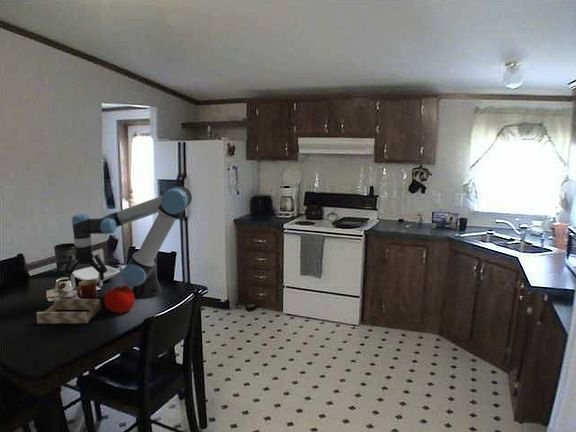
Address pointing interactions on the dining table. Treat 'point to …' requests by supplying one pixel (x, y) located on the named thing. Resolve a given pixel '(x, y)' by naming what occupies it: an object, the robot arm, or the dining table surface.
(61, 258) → the planter
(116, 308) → the tomato
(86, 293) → the mug
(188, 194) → the robot arm
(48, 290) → the dining table surface
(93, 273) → the bowl
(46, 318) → the tan wooden shallow box
